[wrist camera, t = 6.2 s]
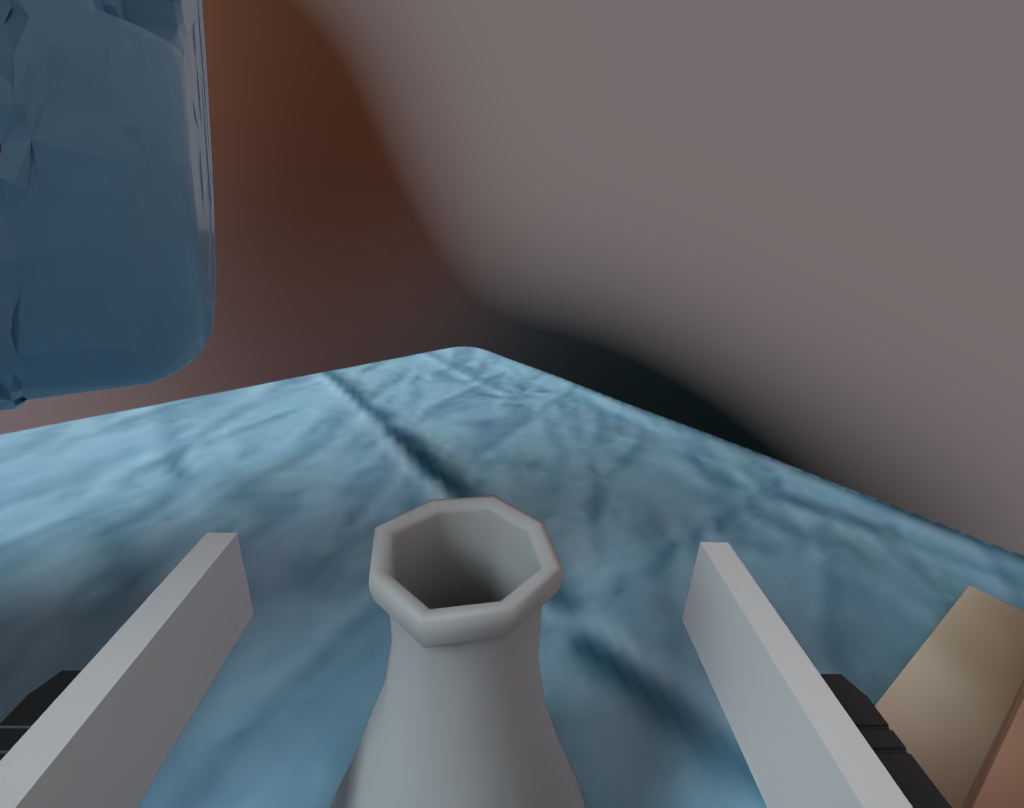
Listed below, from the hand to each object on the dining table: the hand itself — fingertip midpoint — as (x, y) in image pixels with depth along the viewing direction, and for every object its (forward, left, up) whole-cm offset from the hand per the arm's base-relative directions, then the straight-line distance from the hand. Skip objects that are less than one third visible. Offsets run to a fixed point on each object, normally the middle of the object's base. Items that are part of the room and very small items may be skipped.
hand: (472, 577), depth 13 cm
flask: (+3, -2, -6) cm, 7 cm away
